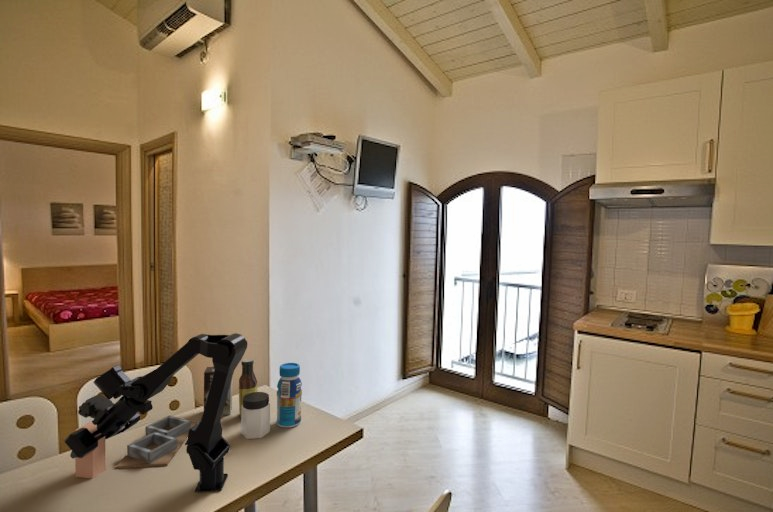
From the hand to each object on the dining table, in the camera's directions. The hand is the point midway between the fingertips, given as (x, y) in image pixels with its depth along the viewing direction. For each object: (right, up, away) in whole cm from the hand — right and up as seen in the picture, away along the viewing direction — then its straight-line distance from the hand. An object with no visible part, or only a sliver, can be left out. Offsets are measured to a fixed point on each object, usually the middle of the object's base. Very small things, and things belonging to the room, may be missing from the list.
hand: (85, 448), depth 104 cm
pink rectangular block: (+1, -7, 0) cm, 7 cm away
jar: (+37, -7, +23) cm, 45 cm away
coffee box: (+19, -6, +37) cm, 42 cm away
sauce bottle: (+31, -6, +35) cm, 47 cm away
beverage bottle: (+46, -6, +31) cm, 56 cm away
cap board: (+11, -6, +15) cm, 20 cm away
